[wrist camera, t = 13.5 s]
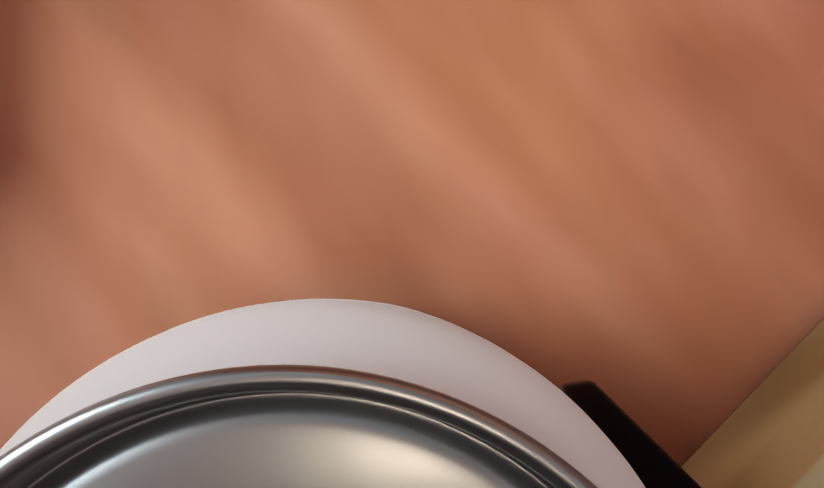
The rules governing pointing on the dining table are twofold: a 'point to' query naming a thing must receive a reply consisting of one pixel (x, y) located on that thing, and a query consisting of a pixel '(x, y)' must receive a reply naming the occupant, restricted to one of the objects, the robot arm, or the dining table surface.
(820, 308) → the dining table surface
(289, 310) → the can
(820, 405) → the wooden frame
